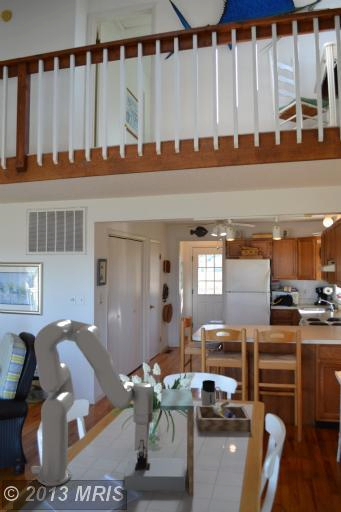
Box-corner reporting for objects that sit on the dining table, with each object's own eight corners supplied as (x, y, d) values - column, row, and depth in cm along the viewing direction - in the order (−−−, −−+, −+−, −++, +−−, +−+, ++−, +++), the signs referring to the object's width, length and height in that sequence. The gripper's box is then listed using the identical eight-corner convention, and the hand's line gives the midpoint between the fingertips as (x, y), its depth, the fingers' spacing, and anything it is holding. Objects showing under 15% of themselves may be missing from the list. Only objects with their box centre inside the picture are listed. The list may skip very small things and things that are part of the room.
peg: (136, 482, 147) (136, 455, 147) (137, 477, 151) (137, 451, 151) (147, 482, 147) (147, 455, 147) (147, 477, 151) (148, 451, 151)
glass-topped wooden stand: (159, 495, 139) (160, 405, 140) (161, 467, 159) (161, 389, 160) (193, 495, 139) (193, 405, 140) (190, 467, 159) (190, 389, 160)
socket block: (124, 490, 142) (124, 476, 142) (128, 470, 156) (128, 457, 156) (184, 490, 142) (184, 476, 142) (183, 471, 156) (183, 458, 156)
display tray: (198, 431, 195) (198, 419, 195) (196, 416, 215) (196, 405, 215) (250, 431, 195) (250, 419, 195) (243, 417, 215) (243, 406, 215)
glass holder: (208, 403, 236) (208, 378, 237) (225, 410, 225) (225, 384, 226) (198, 406, 231) (198, 381, 231) (215, 413, 219) (215, 386, 220)
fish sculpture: (215, 392, 212) (217, 401, 197) (247, 409, 211) (252, 419, 196) (204, 412, 212) (206, 423, 197) (237, 430, 211) (241, 442, 196)
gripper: (135, 408, 159) (134, 451, 158) (130, 425, 141) (130, 473, 141) (153, 408, 159) (153, 451, 158) (151, 425, 141) (151, 473, 141)
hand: (142, 461), depth 149 cm, fingers open, 9 cm apart
